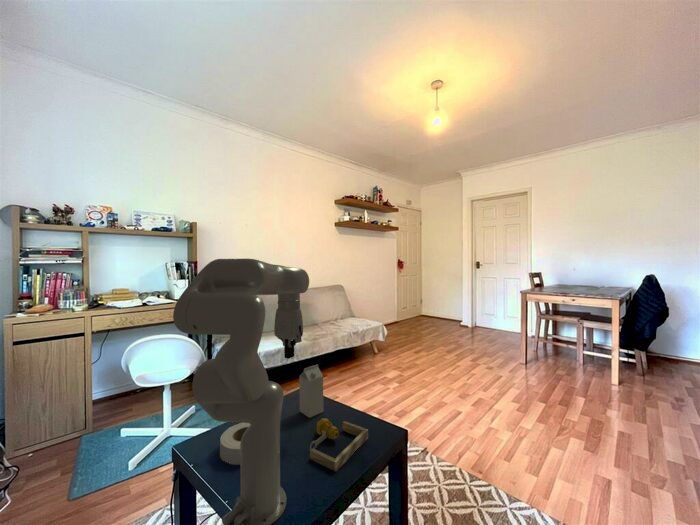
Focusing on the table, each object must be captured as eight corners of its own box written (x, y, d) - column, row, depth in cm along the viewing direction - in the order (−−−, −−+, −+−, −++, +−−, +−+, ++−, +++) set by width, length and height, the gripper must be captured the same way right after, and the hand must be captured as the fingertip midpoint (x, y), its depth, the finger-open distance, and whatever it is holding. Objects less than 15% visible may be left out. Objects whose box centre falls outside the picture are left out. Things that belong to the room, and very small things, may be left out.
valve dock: (336, 472, 83) (336, 462, 83) (309, 459, 89) (309, 450, 89) (368, 438, 99) (368, 429, 99) (344, 428, 105) (344, 420, 105)
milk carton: (299, 411, 117) (299, 366, 117) (313, 405, 122) (313, 362, 122) (309, 418, 112) (308, 371, 112) (323, 412, 117) (323, 366, 117)
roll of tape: (242, 431, 104) (242, 416, 104) (279, 440, 99) (279, 424, 99) (208, 460, 89) (208, 442, 89) (249, 472, 84) (249, 453, 84)
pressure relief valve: (340, 423, 98) (322, 412, 105) (314, 444, 90) (296, 432, 97) (342, 437, 99) (324, 426, 106) (316, 460, 90) (298, 446, 97)
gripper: (266, 304, 100) (266, 356, 100) (297, 308, 91) (297, 364, 91) (282, 302, 106) (282, 350, 106) (312, 305, 98) (312, 358, 98)
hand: (289, 357), depth 99 cm, fingers closed
